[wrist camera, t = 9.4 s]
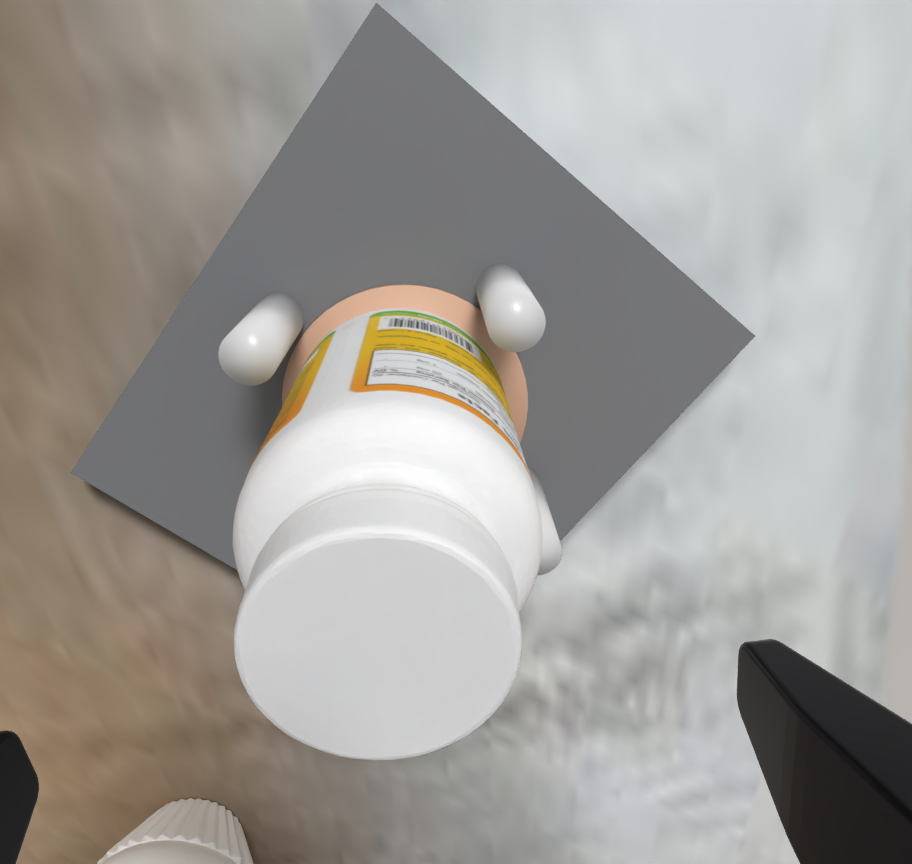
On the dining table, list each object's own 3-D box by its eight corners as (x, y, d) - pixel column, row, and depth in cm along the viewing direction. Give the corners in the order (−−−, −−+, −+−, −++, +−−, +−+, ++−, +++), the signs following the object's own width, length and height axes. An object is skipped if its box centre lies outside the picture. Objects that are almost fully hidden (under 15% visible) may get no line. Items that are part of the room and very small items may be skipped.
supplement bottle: (351, 524, 20) (291, 842, 11) (259, 352, 18) (96, 571, 9) (532, 456, 20) (623, 732, 11) (458, 269, 18) (492, 417, 9)
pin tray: (426, 659, 24) (426, 773, 19) (86, 456, 20) (-1, 540, 16) (739, 326, 20) (823, 379, 15) (379, 9, 16) (363, -31, 12)
